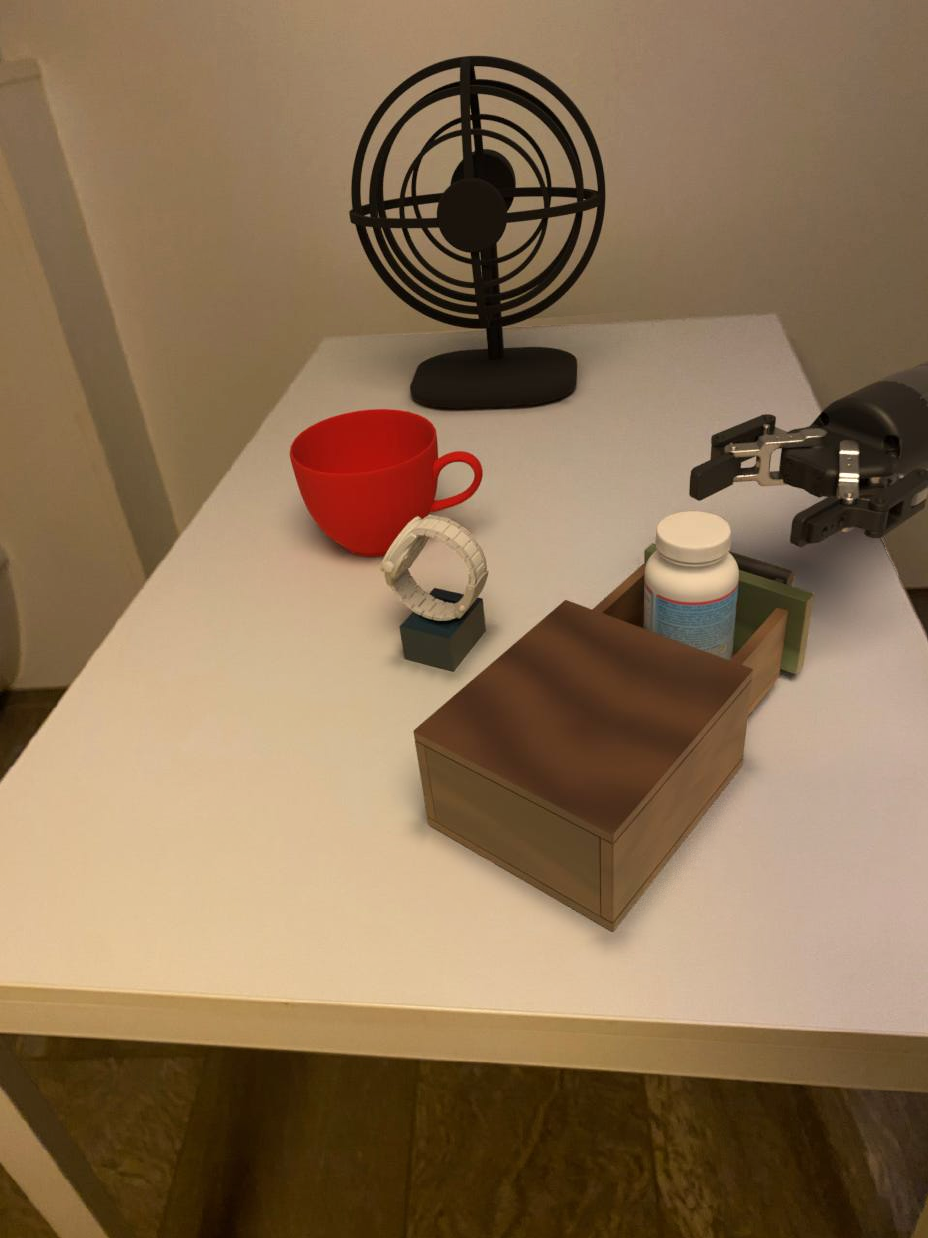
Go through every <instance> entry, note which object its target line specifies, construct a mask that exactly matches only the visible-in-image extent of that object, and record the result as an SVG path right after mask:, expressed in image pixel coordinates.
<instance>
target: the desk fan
mask: <svg viewBox="0 0 928 1238" xmlns="http://www.w3.org/2000/svg"><path fill="white" fill-rule="evenodd" d="M475 67H481V68H482V67H483V68H491V69H499V70H503V71H507V72H510V73H513V74H516V75H519V76H521V77H523V78H525V79H527V80H529V81H531V82H533V83H534V84H536V85H538V86H539V87H541V88H542V89H544V90H545V91H546V92H548V93H549V94H550V95H551V96H552V97H554V99H556V100H557V101H558V102H559V103H560V104H561V105H562V106H563V107H564V108H565V110H566V112H568V113H569V115H570V116H571V117H572V119H573V121H574V122H575V124H576V125H577V127H578V128H579V130H580V132H581V134H582V136H583V137H584V140H585V142H586V144H587V146H588V149H589V152H590V155H591V158H592V162H593V166H594V171H595V177H596V185H597V190H595V189H591V188H585V183H584V174H583V168H582V164H581V161H580V156H579V153H578V150H577V148H576V145H575V143H574V141H573V139H572V137H571V135H570V133H569V131H568V130H567V128H566V126H565V125H564V123H563V121H561V119H560V118H559V117H558V116H557V115H556V114H555V112H554V111H553V110H552V109H551V108H550V107H549V106H548V105H547V104H545V102H543V101H542V100H541V99H539V98H538V97H536V96H535V95H533V93H530V92H529V91H527V90H525V89H523V88H521V87H519V86H516V85H515V84H511V83H508V82H504V81H500V80H495V79H486V78H477V76H476V70H475ZM454 69H455V70H456V69H459V80H458V81H453V82H451V83H447V84H444V85H442V86H440V87H438V88H435V89H434V90H431V91H430V92H428V93H426V94H425V95H424V96H422V97H421V98H419V99H418V100H417V101H416V102H414V104H412V105H411V106H410V107H409V108H408V109H407V110H406V111H405V112H404V113H403V115H402V116H401V117H400V118H399V119H398V120H397V121H396V122H395V123H394V124H393V126H392V128H391V129H390V130H389V132H388V133H387V135H386V136H385V138H384V140H383V141H382V143H381V145H380V147H379V150H378V152H377V154H376V157H375V160H374V162H373V166H372V169H371V175H370V180H369V188H368V189H369V191H368V203H366V204H363V205H362V195H361V194H362V193H361V191H362V189H361V188H362V187H361V186H362V175H363V174H362V173H363V167H364V162H365V158H366V154H367V150H368V147H369V144H370V141H371V139H372V137H373V134H374V132H375V130H376V128H377V127H378V125H379V123H380V121H381V120H382V119H383V117H384V115H385V114H386V112H387V111H388V110H389V109H390V107H391V106H392V105H393V104H394V103H395V102H396V101H397V100H398V99H399V98H400V97H401V96H402V95H403V94H405V92H407V91H408V90H410V89H411V88H412V87H414V86H415V85H417V84H419V83H420V82H422V81H424V80H426V79H428V78H430V77H432V76H434V75H438V74H440V73H443V72H445V71H449V70H454ZM479 95H486V96H492V97H497V98H500V99H504V100H507V101H509V102H511V103H514V104H516V105H518V106H520V107H522V108H524V109H525V110H527V111H528V112H530V113H531V114H533V115H534V117H536V118H538V119H539V120H540V122H542V123H543V124H544V125H545V126H546V127H547V128H548V129H549V131H550V132H551V133H552V134H553V135H554V137H555V138H556V139H557V141H558V142H559V144H560V146H561V148H562V150H563V152H564V153H565V156H566V158H567V160H568V163H569V165H570V168H571V171H572V176H573V180H574V184H575V187H570V186H552V185H553V184H552V177H551V172H550V171H551V170H550V168H549V164H548V161H547V158H546V157H545V154H544V152H543V150H542V149H541V148H540V146H539V144H538V143H537V141H536V140H535V138H533V137H532V135H530V133H528V131H526V130H525V129H524V128H522V126H520V125H519V124H517V123H515V122H513V121H512V120H510V119H508V118H505V117H502V116H499V115H496V114H490V113H481V109H480V108H481V107H480V99H479ZM457 96H459V105H460V117H456V118H454V119H453V120H450V121H448V122H447V123H445V124H444V125H442V126H441V127H439V128H438V129H437V130H436V131H435V132H434V133H433V134H432V135H431V136H430V137H429V139H428V140H427V141H426V142H425V144H424V145H423V147H422V148H421V150H420V152H419V153H418V154H417V155H416V156H415V157H414V160H413V161H412V162H411V164H410V165H409V167H408V169H407V171H406V173H405V176H404V178H403V181H402V183H401V188H400V193H399V197H396V198H392V199H385V196H384V182H385V181H384V179H385V172H386V166H387V162H388V159H389V155H390V152H391V150H392V147H393V145H394V142H395V140H396V138H397V137H398V135H399V134H400V131H402V129H403V127H404V126H405V125H406V123H407V122H409V120H411V119H412V118H413V117H414V116H415V115H417V114H418V113H419V112H421V111H423V110H424V109H425V108H428V107H429V106H431V105H432V104H433V105H434V103H438V102H440V101H443V100H445V99H449V98H452V97H457ZM482 121H490V122H496V123H499V124H501V125H504V126H507V127H509V128H511V129H512V130H514V131H515V132H517V133H518V134H520V135H521V136H522V137H523V138H524V139H526V141H527V142H528V143H529V144H530V145H531V147H532V148H533V150H534V151H535V152H536V154H537V156H538V158H539V160H540V163H541V165H542V167H543V171H544V175H545V180H546V183H545V180H544V178H543V175H542V172H541V171H540V169H539V167H538V165H537V164H536V162H535V160H534V159H533V158H532V157H531V155H530V154H529V153H528V152H527V151H526V150H525V149H524V148H523V147H522V146H521V145H519V144H518V143H517V142H516V141H514V140H513V139H511V138H509V137H507V136H506V135H504V134H502V133H499V132H496V131H492V130H489V129H484V128H482ZM459 124H460V128H461V129H457V130H456V129H455V130H453V131H450V132H447V133H445V134H443V133H444V132H445V131H447V130H449V129H451V128H452V127H455V126H457V125H459ZM442 134H443V135H442ZM472 136H473V140H472ZM457 137H461V147H462V160H461V161H460V162H459V163H458V164H457V165H456V167H455V169H454V171H453V173H452V176H451V180H450V185H449V186H447V188H446V189H445V190H444V191H443V192H437V193H427V194H420V195H419V194H417V178H418V174H419V169H420V167H421V166H420V165H421V163H422V160H423V158H424V157H425V155H426V154H428V153H429V152H430V151H431V150H432V149H434V148H435V147H436V146H438V145H440V144H442V143H444V142H445V141H448V140H450V139H454V138H457ZM483 137H488V138H492V139H494V140H497V141H499V142H502V143H504V144H505V145H507V146H509V147H510V148H512V149H513V150H514V151H516V152H517V153H518V154H519V155H520V157H522V158H523V159H524V160H525V161H526V163H527V164H528V165H529V167H530V168H531V170H532V171H533V173H534V175H535V177H536V179H537V181H538V184H539V186H528V187H527V186H524V187H523V186H522V187H517V186H516V185H517V179H516V173H515V171H514V167H513V166H512V164H511V162H510V160H509V159H508V158H506V156H505V155H503V154H502V153H500V152H499V151H497V150H494V149H489V148H484V139H483ZM472 141H473V143H472ZM473 145H474V146H473ZM598 145H599V144H598V143H597V140H596V138H595V136H594V132H593V131H592V129H591V127H590V125H589V123H588V121H587V119H586V118H585V116H584V115H583V113H582V112H581V110H580V109H579V107H578V106H577V104H576V103H575V102H574V101H573V100H572V99H571V98H570V97H569V95H568V94H567V93H566V92H565V91H563V89H561V88H560V87H559V86H558V85H557V84H556V83H555V82H553V81H552V80H551V79H549V78H548V77H547V76H545V75H543V74H542V73H540V72H539V71H537V70H535V69H533V68H532V67H529V66H527V65H524V64H522V63H520V62H517V61H514V60H510V59H506V58H502V57H497V56H491V55H490V56H489V55H466V56H465V55H464V56H457V57H452V58H448V59H445V60H444V59H443V60H440V61H438V62H435V63H432V64H431V65H428V66H426V67H424V68H422V69H420V70H419V71H417V72H415V73H413V74H412V75H411V76H409V77H407V78H406V79H405V80H403V81H402V82H401V83H400V84H399V85H397V86H396V87H395V88H394V89H393V90H392V91H391V92H390V93H389V94H388V95H387V96H386V97H385V98H384V100H383V101H382V102H381V103H380V104H379V106H377V109H376V110H375V111H374V113H373V114H372V116H371V118H370V119H369V121H368V123H367V125H366V126H365V129H364V131H363V133H362V135H361V138H360V140H359V143H358V146H357V149H356V152H355V157H354V161H353V166H352V172H351V173H352V174H351V184H350V186H351V187H350V194H351V195H350V197H351V209H350V210H349V211H348V215H349V221H350V224H353V225H355V230H356V232H357V236H358V238H359V241H360V244H361V246H362V249H363V251H364V253H365V255H366V257H367V259H368V261H369V263H370V265H371V266H372V268H373V269H374V271H375V273H376V274H377V275H378V277H379V278H380V279H381V281H382V282H383V283H384V284H385V285H386V286H387V288H388V289H389V290H390V291H391V292H392V293H393V294H394V295H395V296H397V297H398V299H400V300H401V301H402V302H403V303H404V304H407V305H408V306H409V307H410V308H411V309H413V310H415V311H416V312H418V313H420V314H422V315H424V316H426V317H428V318H429V319H431V320H434V321H437V322H439V323H443V324H445V325H446V324H447V325H448V326H452V327H453V326H454V327H456V328H457V327H458V328H462V329H471V330H472V329H473V330H476V329H477V330H485V334H486V345H487V348H476V349H472V348H471V349H463V350H462V349H461V350H455V351H454V350H453V351H448V352H445V353H440V354H437V355H434V356H431V357H429V358H427V359H425V360H423V361H422V362H420V363H419V364H418V365H417V367H416V369H415V372H414V375H413V377H412V380H411V383H410V385H409V390H410V391H409V392H410V396H411V397H412V398H413V399H414V400H415V401H416V402H418V403H421V404H423V405H426V406H431V407H439V408H451V409H452V408H453V409H455V408H456V409H457V408H485V407H486V408H487V407H509V406H511V407H512V406H529V405H536V404H541V403H547V402H550V401H554V400H558V399H560V398H562V397H564V396H567V395H568V394H570V393H572V392H573V391H574V390H575V388H576V387H577V383H578V382H577V381H578V379H577V377H578V359H577V357H576V356H575V355H574V354H573V353H571V352H569V351H566V350H563V349H559V348H554V347H548V346H547V347H546V346H518V347H517V346H516V347H505V346H504V345H505V344H504V331H503V327H508V326H511V325H515V324H519V323H521V322H524V321H527V320H529V319H531V318H533V317H535V316H538V315H539V314H541V313H542V312H544V311H546V310H547V309H549V308H550V307H551V306H553V305H555V304H556V303H557V302H558V301H559V300H561V299H562V297H564V296H565V294H567V292H569V290H571V288H572V287H573V286H575V284H576V282H578V280H579V279H580V277H581V276H582V274H583V273H584V271H585V270H586V268H587V266H588V265H589V264H590V261H591V260H592V257H593V254H594V253H595V250H596V248H597V245H598V242H599V239H600V236H601V232H602V229H603V224H604V218H605V212H606V199H607V198H606V195H607V194H606V177H605V176H606V175H605V170H604V164H603V159H602V156H601V151H600V149H599V146H598ZM473 147H474V151H473ZM410 179H411V185H410V189H411V190H410V193H411V195H410V196H406V193H407V189H408V185H409V181H410ZM532 197H534V198H537V197H538V198H542V199H543V200H542V202H543V207H542V208H535V209H529V210H519V211H509V210H510V208H511V206H512V204H513V203H514V199H515V198H532ZM552 198H573V199H576V202H570V203H567V204H561V205H555V206H551V203H552ZM428 204H429V205H430V204H437V207H436V217H423V216H422V213H421V211H420V207H419V206H421V205H428ZM405 207H412V208H413V212H414V215H415V217H414V218H413V217H412V218H411V217H409V218H408V217H406V213H405V212H406V211H405ZM595 208H596V214H595V219H594V224H593V227H592V232H591V235H590V237H589V240H588V243H587V246H586V248H585V250H584V252H583V254H582V256H581V258H580V260H579V261H578V263H577V265H576V266H575V267H574V269H573V270H572V271H571V273H570V274H569V275H568V276H567V278H566V279H565V280H564V281H563V282H562V283H561V284H560V286H559V287H557V288H556V289H555V290H554V291H552V292H551V293H550V294H549V295H548V296H547V297H544V299H542V300H540V301H539V302H537V303H535V304H533V305H531V306H529V307H527V308H525V309H523V310H521V311H518V312H514V313H512V314H508V315H504V316H503V315H502V312H503V313H504V312H506V311H510V310H512V309H516V308H518V307H520V306H522V305H525V304H526V303H528V302H529V301H531V300H533V299H534V298H536V297H538V296H540V294H541V293H543V292H544V291H546V289H548V287H550V285H552V284H553V282H554V281H556V279H557V278H558V276H560V274H561V273H562V272H563V270H564V269H565V267H566V266H567V264H568V262H569V260H570V258H571V257H572V254H573V253H574V251H575V248H576V245H577V242H578V241H579V236H580V233H581V229H582V225H583V217H584V212H586V211H589V210H593V209H595ZM394 209H395V210H396V209H398V214H399V216H398V217H388V216H387V212H386V211H388V210H394ZM508 211H509V212H508ZM367 215H369V216H367ZM568 215H574V218H573V222H572V226H571V229H570V231H569V234H568V236H567V238H566V240H565V242H564V244H563V246H562V248H561V249H560V251H559V252H558V254H557V255H556V256H555V258H554V259H553V260H552V261H551V263H549V264H548V266H547V267H546V268H545V269H544V270H543V271H541V272H540V273H539V274H538V275H536V276H535V277H533V278H532V279H530V280H529V281H527V282H525V283H523V284H522V285H520V286H518V287H517V286H516V287H514V288H512V289H510V290H506V291H502V292H501V291H500V290H501V289H500V288H501V287H500V285H501V284H503V283H506V282H509V280H512V279H513V278H515V277H516V276H518V275H519V274H521V272H523V270H525V268H527V267H528V266H529V265H530V263H531V262H532V261H533V259H534V258H535V257H536V256H537V254H538V252H539V250H540V249H541V246H542V244H543V242H544V239H545V237H546V234H547V233H546V232H547V229H548V225H549V224H548V222H549V219H551V218H556V217H557V218H558V217H563V216H568ZM538 220H540V222H539V224H538V225H537V227H536V229H535V231H533V234H532V235H531V236H530V237H529V238H528V240H527V241H525V242H524V243H523V244H521V246H519V247H518V248H516V249H515V250H513V251H511V252H510V253H507V254H505V255H502V256H499V257H498V242H499V241H500V240H501V238H502V237H503V236H504V233H505V232H506V228H507V225H508V224H511V223H519V222H528V221H538ZM367 228H372V230H373V234H374V237H375V240H376V242H377V246H378V247H379V250H380V252H381V254H382V256H383V258H384V260H385V261H386V263H387V264H388V266H389V268H390V269H391V270H392V272H393V273H394V274H395V275H396V277H397V278H398V279H399V280H400V281H401V283H403V284H404V285H405V286H406V288H408V289H409V290H411V291H412V292H413V293H414V294H415V295H417V296H418V297H420V298H422V299H423V300H425V301H426V302H428V303H430V304H432V305H434V306H437V307H438V308H442V309H443V310H446V311H450V312H452V313H453V312H454V313H458V314H464V315H474V316H475V315H476V316H477V317H478V318H476V317H475V318H474V317H473V318H472V317H464V316H459V315H455V314H450V313H447V312H444V311H442V310H439V309H436V308H434V307H432V306H430V305H428V304H427V303H425V302H423V301H421V300H420V299H418V298H417V297H415V296H414V295H413V294H411V293H410V292H409V291H407V289H405V288H404V287H403V286H402V285H401V284H400V283H399V282H398V281H397V280H396V279H395V278H394V276H392V275H391V273H390V272H389V270H387V267H386V266H385V265H384V264H383V262H382V260H381V259H380V257H379V256H378V253H377V251H376V249H375V248H374V245H373V243H372V241H371V238H370V236H369V232H368V229H367ZM392 229H401V231H402V234H403V237H404V239H405V242H406V244H407V246H408V248H409V250H410V252H411V253H412V255H413V256H414V257H415V259H416V260H417V262H419V264H420V265H421V266H422V267H423V269H425V270H426V271H428V272H429V273H430V274H432V275H433V276H434V277H436V278H438V279H439V280H441V281H443V282H445V283H448V284H450V285H453V286H456V287H459V288H464V289H474V293H467V292H462V291H458V290H455V289H451V288H449V287H447V286H444V285H442V284H440V283H438V282H436V281H435V280H433V279H432V278H430V277H428V276H427V275H426V274H424V272H422V271H420V270H419V268H417V266H415V264H413V263H412V261H410V259H409V258H408V257H407V255H406V254H405V253H404V252H403V250H402V248H401V246H400V245H399V243H398V241H397V240H396V238H395V236H394V233H393V232H392ZM409 229H421V230H422V232H423V233H424V235H425V237H426V238H427V239H428V240H429V241H430V242H431V244H432V245H433V246H434V247H435V248H436V249H438V251H440V252H442V253H443V254H444V255H446V256H447V257H449V258H451V259H453V260H454V261H455V260H456V261H457V262H460V263H464V264H468V265H471V272H472V279H473V282H472V281H465V280H460V279H456V278H454V277H451V276H449V275H447V274H445V273H443V272H441V271H439V270H438V269H436V268H435V267H434V266H432V264H430V263H429V262H428V261H427V260H426V259H425V258H424V257H423V256H422V254H421V253H420V252H419V250H418V249H417V247H416V245H415V243H414V242H413V240H412V236H411V235H410V231H409ZM429 229H439V231H440V234H441V235H442V238H444V240H445V241H446V242H447V243H448V244H449V245H450V246H451V247H452V248H454V249H456V250H458V251H460V252H464V253H468V254H470V257H466V256H464V255H461V254H458V253H456V252H454V251H452V250H450V249H449V248H447V247H446V246H445V245H443V244H442V243H441V242H440V241H439V240H438V239H437V238H436V237H435V236H434V234H432V232H431V231H430V230H429ZM538 236H539V237H538ZM536 239H538V240H537V241H536V244H535V246H534V248H533V249H532V251H531V252H530V253H529V255H528V256H527V257H526V259H525V260H524V261H523V262H522V263H520V265H519V266H517V267H516V268H515V269H513V270H512V271H510V272H509V273H507V274H505V275H503V276H500V273H499V264H501V263H505V262H506V261H507V262H508V261H509V260H511V259H513V258H516V257H517V256H518V255H520V254H521V253H523V252H524V251H526V250H527V249H528V248H529V247H530V246H531V245H532V244H533V243H534V241H535V240H536ZM389 247H390V248H389ZM390 249H391V250H390ZM391 251H392V252H391ZM392 253H393V254H394V255H395V256H394V255H393V254H392ZM395 257H396V259H397V260H398V261H399V262H400V263H401V265H402V266H403V267H404V268H405V270H406V271H407V272H408V273H409V274H410V275H411V276H412V277H413V278H414V279H416V280H417V281H418V282H419V283H421V284H422V285H424V286H425V287H427V288H428V289H430V290H431V291H433V292H435V293H437V294H439V295H441V296H444V297H446V298H449V299H452V300H456V301H460V302H466V303H474V304H476V305H470V304H469V305H468V304H463V303H462V304H461V303H456V302H452V301H449V300H448V299H447V300H446V299H445V298H441V297H439V296H437V295H436V294H433V293H431V292H430V291H428V290H427V289H425V288H423V287H422V286H421V285H420V284H419V283H417V282H416V281H415V280H413V278H411V276H409V275H408V273H407V272H406V271H405V270H404V269H403V268H402V266H401V265H400V264H399V263H398V261H397V260H396V259H395ZM507 300H508V301H507ZM503 301H505V302H503Z"/></svg>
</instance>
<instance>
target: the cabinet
mask: <svg viewBox="0 0 928 1238" xmlns="http://www.w3.org/2000/svg"><path fill="white" fill-rule="evenodd" d="M592 609H593V608H589V607H588V606H587V607H586V606H584V605H581V604H579V603H575V602H573V601H570V600H568V599H564V600H563V601H562V602H561V603H560V604H559V605H557V607H555V608H554V609H553V610H551V612H549V613H548V614H547V615H545V616H544V618H543V619H542V620H540V621H539V622H538V623H537V624H536V625H534V626H533V627H532V628H530V629H529V630H528V631H527V632H526V633H525V634H523V636H522V637H520V638H519V639H518V640H517V641H516V642H515V643H513V644H512V645H511V646H510V647H508V648H507V649H506V650H505V651H504V652H503V653H502V654H500V655H499V656H498V657H497V658H496V659H494V661H493V662H491V663H490V664H489V665H488V666H486V667H485V668H484V669H483V670H481V672H480V673H478V674H477V675H476V676H475V677H473V679H471V681H469V682H468V683H467V684H465V686H463V687H462V688H460V689H459V691H458V692H456V693H455V694H454V695H453V696H452V697H451V698H449V699H448V700H447V701H446V702H445V703H444V704H442V705H441V706H440V707H439V708H438V709H437V710H436V711H434V712H433V713H431V714H430V716H428V717H427V718H426V719H425V720H424V721H422V723H420V724H419V725H418V726H417V727H416V728H414V729H413V732H412V733H413V738H414V746H415V752H416V758H417V763H418V770H419V776H420V781H421V782H420V783H421V788H422V794H423V801H424V807H425V812H426V817H427V822H428V823H427V824H428V826H430V827H432V828H433V829H435V830H437V831H438V832H440V833H441V834H443V835H445V836H447V837H449V838H451V840H454V841H456V842H457V843H459V844H461V845H462V846H465V847H466V848H467V849H470V850H471V851H473V852H475V853H476V854H478V855H479V856H482V857H483V858H485V859H487V860H488V861H490V862H492V863H494V864H495V865H497V866H499V867H501V868H502V869H504V870H505V871H507V872H509V873H511V874H513V875H514V876H516V877H518V878H519V879H521V880H523V881H524V882H526V883H528V884H530V885H531V886H533V887H534V888H536V889H538V890H540V891H541V892H543V893H545V894H547V895H548V896H550V897H552V898H553V899H555V900H557V901H559V902H561V903H562V904H563V905H566V906H568V908H571V909H573V910H574V911H576V912H577V913H580V914H581V915H583V916H585V917H586V918H588V919H590V920H591V921H593V922H595V923H597V924H598V925H600V926H601V927H603V928H605V929H607V930H608V931H610V932H614V931H615V930H616V928H617V927H618V926H619V924H620V923H621V922H622V920H623V919H624V918H625V917H626V916H627V915H628V913H629V912H630V910H631V909H632V908H633V906H634V905H635V904H636V903H637V902H638V900H639V899H640V898H641V896H642V895H643V894H644V892H645V891H646V890H647V889H648V887H649V886H650V885H651V883H652V882H653V881H654V880H655V878H656V877H657V876H658V874H659V873H660V872H661V870H663V868H664V867H665V865H666V864H667V863H668V862H669V860H670V859H671V858H672V856H673V855H674V854H675V853H676V851H677V850H678V848H680V846H681V845H682V843H683V842H684V841H685V840H686V838H687V837H688V836H689V835H690V833H691V832H692V831H693V830H694V828H695V827H696V825H697V824H698V823H699V821H700V820H701V819H702V818H703V816H705V814H706V813H707V812H708V810H709V809H710V808H711V806H712V805H713V804H714V803H715V801H716V800H717V799H718V797H719V796H720V794H722V792H723V791H724V790H725V789H726V787H727V785H729V783H730V782H731V780H733V778H734V777H735V775H736V774H737V773H738V772H739V770H740V769H741V768H742V766H743V763H744V762H743V761H744V753H745V745H746V737H747V736H746V735H747V727H748V718H749V715H748V710H749V701H750V692H751V683H752V675H753V669H752V668H749V667H746V666H743V665H741V664H738V663H735V662H733V661H730V660H727V659H725V658H722V657H719V656H716V655H714V654H711V653H708V652H706V651H703V650H700V649H697V648H695V647H692V646H689V645H687V644H684V643H681V642H679V641H676V640H673V639H670V638H668V637H665V636H662V635H660V634H657V633H654V632H652V631H649V630H646V629H643V628H641V627H638V626H635V625H633V624H630V623H627V622H625V621H622V620H619V619H616V618H614V617H611V616H608V615H606V614H603V613H600V612H598V611H595V610H592Z"/></svg>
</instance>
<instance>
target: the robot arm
mask: <svg viewBox="0 0 928 1238" xmlns="http://www.w3.org/2000/svg"><path fill="white" fill-rule="evenodd" d="M776 423H777V416H775V415H774V414H770V413H769V414H768V413H767V414H766V413H764V414H761V415H758V416H756V417H753V418H751V419H748V420H746V421H744V422H741V423H738V424H736V425H734V426H731V427H729V428H727V429H724V430H721V431H719V432H716V433H714V434H712V435H711V440H710V445H711V446H710V458H709V459H708V460H707V461H704V462H702V463H700V464H698V465H696V466H694V467H693V468H692V469H691V470H690V476H689V488H688V489H689V490H688V491H689V492H688V496H689V497H690V498H692V499H694V500H696V501H698V502H700V501H703V500H705V499H707V498H709V497H711V496H713V495H714V494H717V493H719V492H721V491H723V490H725V489H727V488H729V487H731V486H733V485H734V483H741V482H757V484H758V486H760V487H775V486H789V487H793V488H797V489H801V490H803V491H805V492H806V493H808V494H809V495H812V496H814V497H816V498H819V499H822V497H823V499H822V500H820V501H818V502H816V503H814V504H813V505H811V506H809V507H807V508H805V509H803V510H801V511H800V512H798V513H796V514H795V515H794V517H793V518H792V521H791V528H790V535H789V543H790V544H791V545H793V546H796V547H797V548H800V549H803V548H804V547H806V546H808V545H815V544H820V543H821V542H823V541H825V540H827V539H828V538H830V537H832V536H833V535H836V534H837V533H839V532H843V533H847V532H851V531H853V530H854V528H856V529H860V530H863V534H864V536H866V537H867V538H870V539H881V538H883V537H884V536H886V535H888V534H889V533H891V532H892V531H893V530H895V529H896V528H898V527H900V525H902V524H904V523H905V522H906V521H908V520H909V519H911V518H913V517H914V516H915V515H916V514H918V513H920V512H921V511H922V510H924V509H925V507H926V502H927V498H928V360H925V361H924V362H921V363H919V364H917V365H916V366H914V367H912V368H908V369H903V370H900V371H897V372H894V373H891V374H888V375H886V376H885V377H883V378H880V379H879V380H877V381H874V382H872V383H870V384H868V385H866V386H864V387H862V388H860V389H858V390H856V391H854V392H851V393H849V394H847V395H844V396H843V397H841V398H839V399H837V400H834V401H832V402H831V403H830V404H829V405H827V406H826V407H825V408H824V409H823V410H822V411H821V412H820V413H819V415H818V416H817V417H816V418H815V419H814V421H813V422H812V423H811V424H810V425H808V426H805V427H800V428H793V429H790V430H789V431H786V430H785V429H781V428H779V427H777V426H776ZM779 449H781V451H780V456H779V457H780V458H779V459H780V460H779V467H778V470H772V471H770V470H771V462H772V461H771V460H772V454H773V453H774V451H776V450H779ZM754 458H755V464H754V465H753V466H750V467H742V463H744V462H746V461H748V460H750V459H754Z"/></svg>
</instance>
